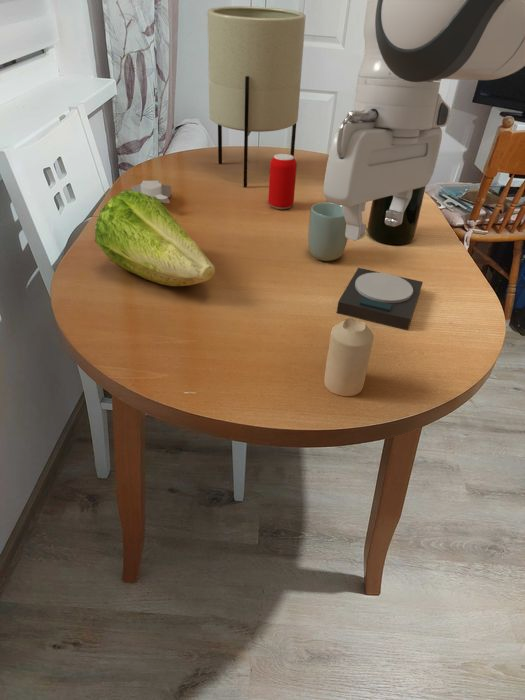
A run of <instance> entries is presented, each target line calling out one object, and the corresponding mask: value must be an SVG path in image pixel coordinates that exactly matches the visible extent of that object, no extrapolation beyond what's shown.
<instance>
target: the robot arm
mask: <svg viewBox="0 0 525 700" xmlns="http://www.w3.org/2000/svg"><path fill="white" fill-rule="evenodd" d="M365 8H366V9H365V16H364V23H363V37H364V54H363V57H362V62H361V65H360V66H359V69H358V72H357V73H358V74H357V81H356V88H355V97H354V104H353V110H351V111H349V112H348V113H347V114H346V117H345V118H344V119H343V121H342V122H341V123H340V124H339V126H338V130H337V131H336V132H335V134H334V136H333V138H332V141H331V144H330V148H329V152H328V156H327V157H328V158H327V162H326V168H325V173H324V178H323V179H324V180H323V186H322V192H323V196H324V199H325V202H331V203H334V204H339V205H343V207H342V211H343V214H344V218H345V221H346V231H345V237H346V238H347V240H351V241H354V242H355V241H358V240H361V239H364V237H365V235H366V233H365V232H366V227H367V224H366V223H364V222H363V213H364V211H365V210H366V209H365V208H366V203H368V202H372V200H376V199H380V198H383V197H387V196H391V195H392V196H394V197H393V200H392V203H391V206H390V209H389V210H387V211H386V215H385V216H386V218H385V224H386V225H389V226H393V227H395V226H397V225H400V224H401V223H402V220H403V214H404V211H405V209H406V207H407V205H408V203H409V201H410V199H411V197H412V192H413V189H417V188H420V187H424V186H427V185H429V183H430V181H431V179H432V177H433V175H434V172H435V168H436V164H437V161H438V157H439V153H440V149H441V144H442V139H443V138H442V137H443V130H442V128H443V127H446V126H447V125H448V124H449V121H450V116H451V107H450V106H449V105H448V104H447V102H446V101H445V100H444V99H443V98H442V95H441V93H439V92H440V88H441V82H442V80H455V81H457V80H458V81H459V80H460V81H492V80H497V79H502V78H505V77H508V76H511V75H515V74H516V73H518V72H519V71H521V70H523V69H525V0H367V2H366V7H365ZM432 81H433V82H432Z"/></svg>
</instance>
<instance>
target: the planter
mask: <svg viewBox="0 0 525 700" xmlns="http://www.w3.org/2000/svg"><path fill="white" fill-rule="evenodd" d="M306 19H307V15H306V14H305V13H302V12H300V11H296V10H292V9H287V8H277V7H267V6H251V5H250V6H247V5H245V6H244V5H242V6H241V5H237V6H236V5H235V6H218V7H212V8H209V9H207V11H206V21H207V24H206V27H207V63H208V64H207V66H208V107H209V108H208V111H209V119H210V120H211V122H213V123H214V124H216V125H217V149H218V150H217V154H218V155H217V159H218V165H222V164H223V127H224V128H227V129H229V130H230V129H231V130H235V131H242V132H243V133H244V136H243V137H244V138H243V188H247V187H248V160H249V159H248V155H249V154H248V153H249V136H250V134H251V132H252V133H253V132H255V133H262V132H263V133H265V132H276V131H281V130H284V129H285V130H286V129H288V128H291V127H292V128H291V141H290V154H289V155H292V156H293V157H294V158H295V148H296V147H295V145H296V136H297V135H296V133H297V123H298V121H299V110H300V108H299V107H300V97H301V96H300V94H301V83H302V69H303V59H304V58H303V56H304V44H305V43H304V42H305V34H306V33H305V31H306Z"/></svg>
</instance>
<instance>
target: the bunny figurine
mask: <svg viewBox="0 0 525 700" xmlns="http://www.w3.org/2000/svg"><path fill="white" fill-rule="evenodd" d="M130 191H137V192H141V193H143V194H146V195H149V196H151V197H153V198H156V199H158V200H159V201H160V202H161V203H162V204H163V205H164V204H170V203H171V202H170V199H169V197H171V196H172V185H169V184H163V183H161V181H160V180H141V183H140V184H135V185H132V186H130Z"/></svg>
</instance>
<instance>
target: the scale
mask: <svg viewBox="0 0 525 700" xmlns="http://www.w3.org/2000/svg"><path fill="white" fill-rule="evenodd" d="M423 284H424V283H423V280H422V281H421V280H416V279H411V278H407V277H402V276H398V275H395V274H391V273H386V272H380V271H375V270H371V269H367V268H362V267H357V269H356V270H355V272H354V274H353V276H352V278H351V279H350V280H349V282H348V285H347V286H346V288H345V289H344V291H343V293H342V295H341V296H340V298H339V300H338V301H337V308H336V314H339V315H344V316H349V317H351V318H356V319H360V320H364V321H369V322H373V323H376V324H380V325H385V326H388V327H393V328H397V329H401V330H406V331H409V328H410V327H409V326H410V325H411V321H412V319H413V316H414V312H415V310H416V306H417V303H418V300H419V297H420V294H421V291H422V287H423Z"/></svg>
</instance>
